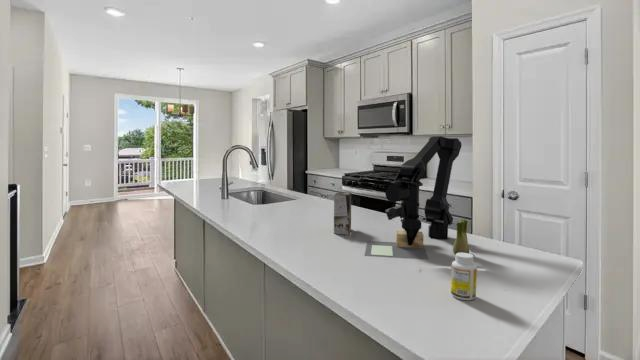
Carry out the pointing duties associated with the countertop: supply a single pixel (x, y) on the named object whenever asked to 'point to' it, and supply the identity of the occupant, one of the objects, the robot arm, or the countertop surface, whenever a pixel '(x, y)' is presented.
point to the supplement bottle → (463, 277)
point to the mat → (393, 250)
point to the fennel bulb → (461, 238)
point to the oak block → (403, 242)
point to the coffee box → (342, 213)
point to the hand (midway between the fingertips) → (409, 242)
